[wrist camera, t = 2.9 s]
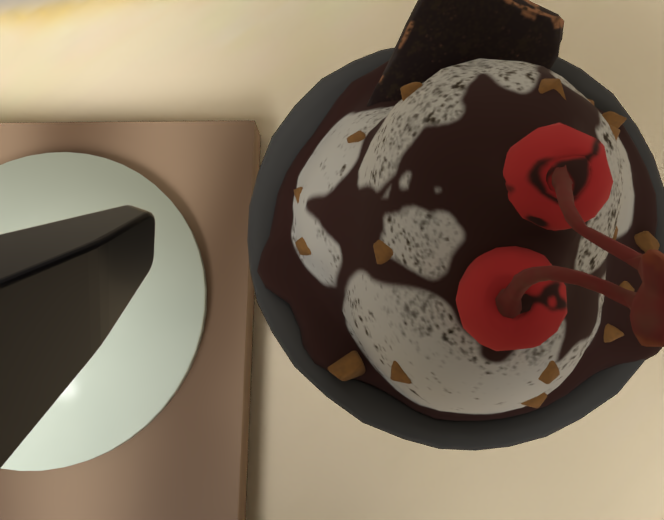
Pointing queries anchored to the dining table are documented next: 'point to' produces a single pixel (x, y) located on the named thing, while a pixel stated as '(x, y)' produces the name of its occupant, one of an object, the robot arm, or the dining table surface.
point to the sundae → (462, 232)
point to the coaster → (134, 323)
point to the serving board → (214, 350)
